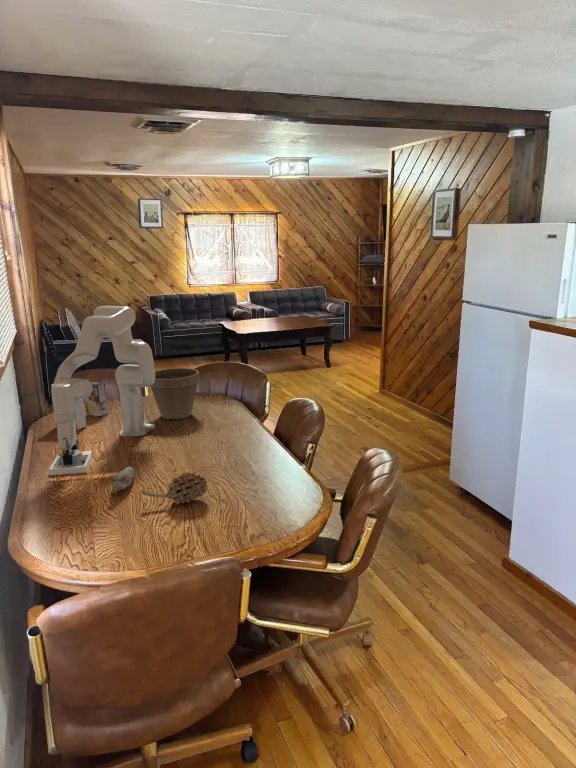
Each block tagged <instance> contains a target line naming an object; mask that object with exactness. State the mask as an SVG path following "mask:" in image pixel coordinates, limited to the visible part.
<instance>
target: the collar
mask: <svg viewBox="0 0 576 768" xmlns="http://www.w3.org/2000/svg"><path fill="white" fill-rule="evenodd" d="M67 450H68V449H67ZM68 451H69V450H68ZM71 454H72V460H73V464H72V465H64V464H63V456H62V453H61V454H60V455H59V456H60V461H61V463H60V467H73V466H82V461H81V458H82V456H83V454H82V450H81V449H80V450H71Z"/></svg>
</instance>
